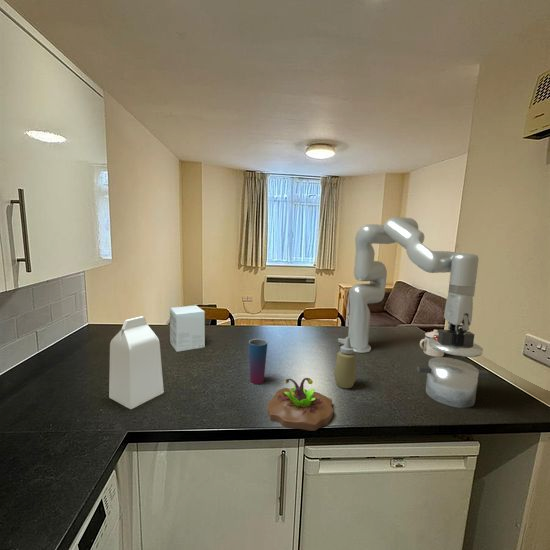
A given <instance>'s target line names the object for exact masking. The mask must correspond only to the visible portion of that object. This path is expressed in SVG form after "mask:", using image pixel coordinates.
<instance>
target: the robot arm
mask: <svg viewBox="0 0 550 550" xmlns="http://www.w3.org/2000/svg"><path fill="white" fill-rule="evenodd" d="M354 238H355V239H354V243H355V256H354V257H355V259H354V269H353V270H354V271H353V276H354V278H355V280H356V281H358V282H369V283H358V284H354V285H352V286H351V287H350V288H349V290H348V298H349V299H348V300H349V316H348V317H349V318H348V320H349V321H348V332H347V333H348V334H347V337H349V339H350V345H351V347H353V348H354V351H353V353H357V354H358V353H359V354H360V353H361V354H362V353H369V352H371V350H372V347H371V346H370V344H369V335H370V333H369V332H370V322H371V321H370V320H371V311H370V308H369V306H368V304H377V303H379V302H381V301H383V299H384V297H385V293H386V287H387V277H388V276H387V275H388V273H387V267H386V266H385V264H384V263H383V262H382V261H378V260H375V253H376V252H375V249H374V246H373V245H374V244H376V245H377V244H378V245H379V244H380V245H381V244H384V245H391V244H395V243H398V244H399V246H401V247H402V248H403V249H405V250H406V254H407V257H408V259H409V260H410V261H411V262H412V263H413V264H414V265H415V266H417V268H419V269H421V270H423V271H424V272H427V273H430V274H438V273H450V274H449V281H448V282H449V284H448V289H447V297H446V301H445V307H444V314H443V318H444V319H445V320H446V321H447V323H448V326H447V327H448V329H447V330H455V333H454V335H453V345H457V346H463V343H464V335H465V333H466V331H470V326H471V324H472V320H473V319H472V318H473V311H474V309H473V307H474V305H473V304H474V303H473V301H474V299H473V298H474V297H475V293H476V283H477V278H478V277H477V276H478V267H479V255H477V254H474V253H465V252H464V253H463V252H460V253H459V252H454V251H449V250H448V251H445V250H431V249H430V248H429V247H427V246H426V245H424V244H423V243H424V241H425V234H424V232H422V231H421V230H420V229H419V224H418V222H417V221H416V220H415V219H414V218H412V217H406V216H405V217H404V216H392V217H390V218H388V219H387V220H386V221H385V222H384V224H377V223H376V224H374V223H372V224H365V225H363V226H361V227H359V228H358V230H357V231H356V234H355V237H354ZM345 339H346V337H345V338H340V337H339V338H337V343H340V344H341V345H342V344H343V345H344V343H345Z"/></svg>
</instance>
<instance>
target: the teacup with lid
mask: <svg viewBox="0 0 550 550" xmlns="http://www.w3.org/2000/svg"><path fill="white" fill-rule="evenodd" d="M438 334H439V329H433V331H432V330H431V331H430V332H429V331H427V332H425V333H424V338H422V339H421V340H420V341H419V347H420V348H421V349H422V350H423V353H424V354H425V355H426V356H430V357H432V358H435V357H444V355H445V353H444V352H441V351H438V350H436V349H434V348H432V347H431V346H430V345H429V339H430V338H432V337H434V335H438ZM423 343H424V344H423Z"/></svg>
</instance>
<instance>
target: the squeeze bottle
mask: <svg viewBox="0 0 550 550" xmlns="http://www.w3.org/2000/svg"><path fill="white" fill-rule="evenodd" d="M345 338H346V339H345ZM345 338H344V339H345V343H344V344H343V345H341V346H340V348H339V349H340V350H339V351H338V352H337V353H336V361H335V366H334V370H333V372H334V373H333V376H334V379H335V383H336V385H337V386H338V388H341V389H351V388H353V386H354V384H355V382H356V380H357V356H356V354H355V352H353V351H354V348H353V347H351V345H350V339H349V337H348V336H346V337H345Z"/></svg>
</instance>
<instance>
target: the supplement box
mask: <svg viewBox="0 0 550 550" xmlns="http://www.w3.org/2000/svg"><path fill="white" fill-rule="evenodd" d="M205 314H206V312H205V310H203V309H202V308H201V307H199V306H198V305H196V304H195V305H187V306H186V305H185V306H175V307H174V306H173V307H170V308H169V337H170V338H169V343H170V345H171V346H172V348H173V349H174V350H175V351H176V353H177V352H182V351H189V350H194V349H201V348H205V347H206V345H205V344H206V342H205V341H206V334H205V330H206V328H205V327H206V326H205V325H206V324H205V323H206V322H205V321H206V319H205V316H206V315H205Z"/></svg>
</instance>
